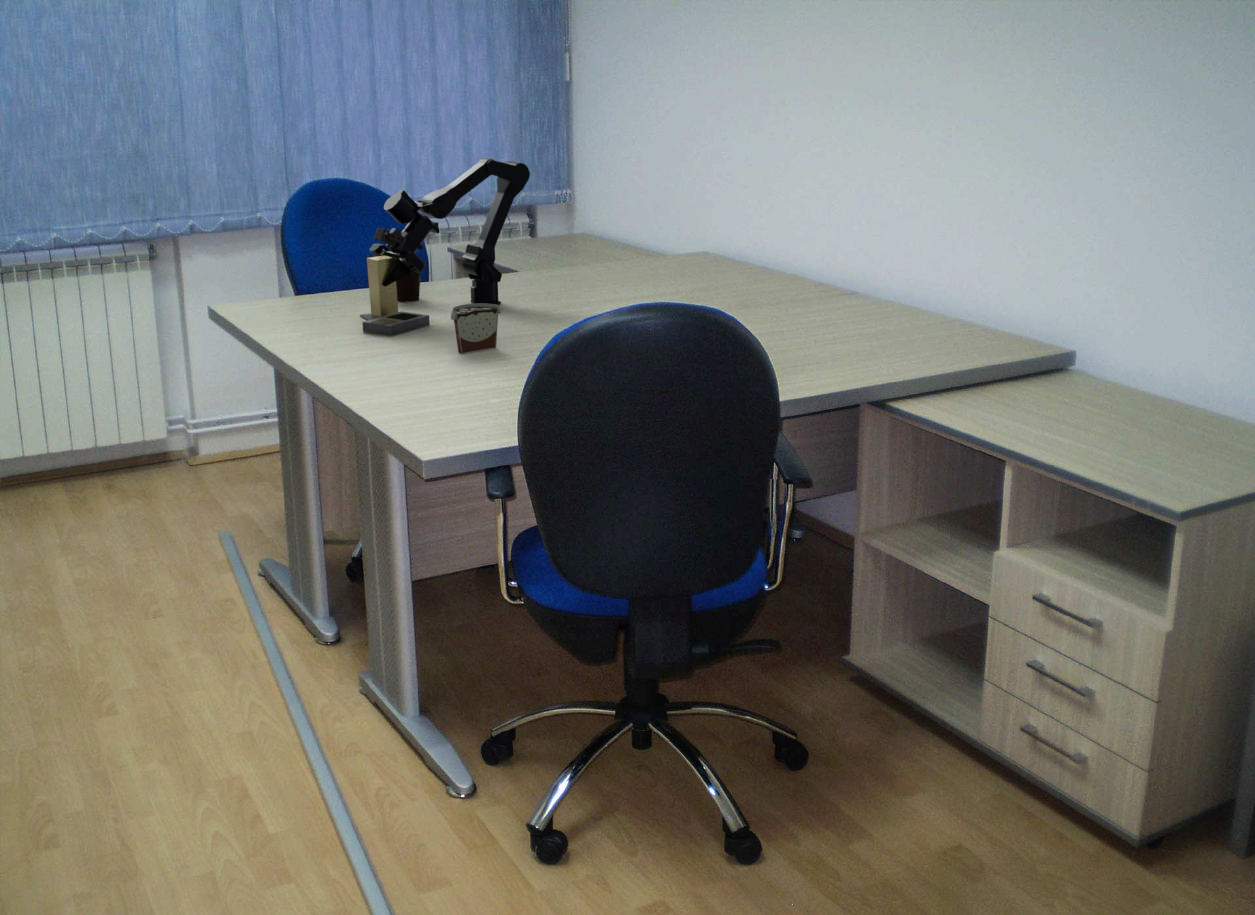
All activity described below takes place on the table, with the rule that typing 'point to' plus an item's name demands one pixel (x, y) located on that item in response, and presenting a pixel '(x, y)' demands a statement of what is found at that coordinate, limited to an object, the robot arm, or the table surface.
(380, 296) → the tan rectangular block
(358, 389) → the table surface
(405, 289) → the coffee mug
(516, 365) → the table surface
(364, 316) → the rubber pad
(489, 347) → the food container
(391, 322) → the grey tray
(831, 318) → the table surface
